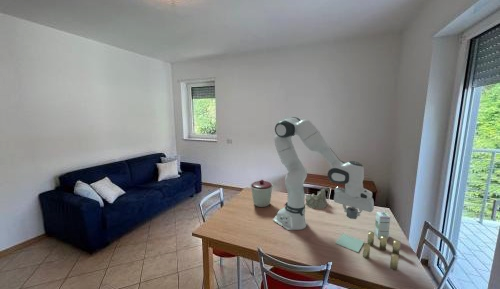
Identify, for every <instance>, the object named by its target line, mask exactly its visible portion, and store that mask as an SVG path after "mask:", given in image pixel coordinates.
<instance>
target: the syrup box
mask: <svg viewBox="0 0 500 289" xmlns="http://www.w3.org/2000/svg"><path fill="white" fill-rule="evenodd" d="M390 224H391V216H390V214H389V213H387V212H386V211H376V212H375V224H374V225H375V226H374V235H375V236H376V237H377V238H378V239H380V236H386V237H387V240H389V238H390V237H389V235H390Z"/></svg>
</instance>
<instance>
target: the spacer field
mask: <svg viewBox="0 0 500 289" xmlns="http://www.w3.org/2000/svg"><path fill="white" fill-rule="evenodd" d="M379 239H380V240H379V246H378V247H379V249H380V250H381V251H386V249H387V242H388V239H387V237H386V236H380V238H379ZM374 240H375V231H372V230H371V231H368V233H367V241H366V242H364V244H363V252H362V258H364V259H365V260H369V259H370V257H371V256H370V255H371V247H373V246H374V242H375V241H374ZM392 242H393V243H392V251H391V252H392V253H391V254H390V255H391V256H390V262H389V263H390V264H389V268H390V270H392V271H394V272H396V271H398V267H399V258H400V249H401V241H399V240H398V239H393V241H392Z"/></svg>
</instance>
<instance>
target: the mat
mask: <svg viewBox="0 0 500 289" xmlns="http://www.w3.org/2000/svg"><path fill="white" fill-rule="evenodd" d="M364 243H365V241H364V240H361V239H359V238H357V237H356V238H355V237H354V236H350V235H349V234H346V233H342V234H341V236H339V238H338V239H337V241H335V245H338V246H341V247H343V248H345V249H348V250H350V251H352V252H355V253H357V254H358V253H359V252H360V250H361V249H362V247H363V246H364Z"/></svg>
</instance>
